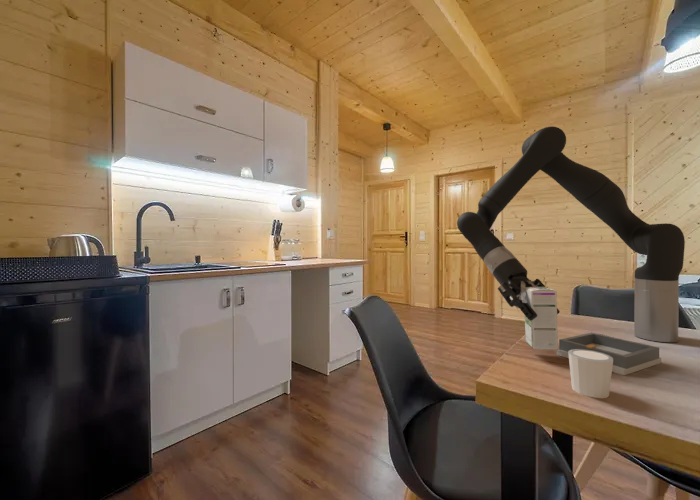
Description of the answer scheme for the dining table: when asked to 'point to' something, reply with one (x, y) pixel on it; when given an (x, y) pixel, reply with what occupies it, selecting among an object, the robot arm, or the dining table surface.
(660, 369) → the dining table surface
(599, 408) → the dining table surface
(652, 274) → the robot arm
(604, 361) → the white cup
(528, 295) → the syrup box
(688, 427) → the dining table surface
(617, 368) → the pocket plate
